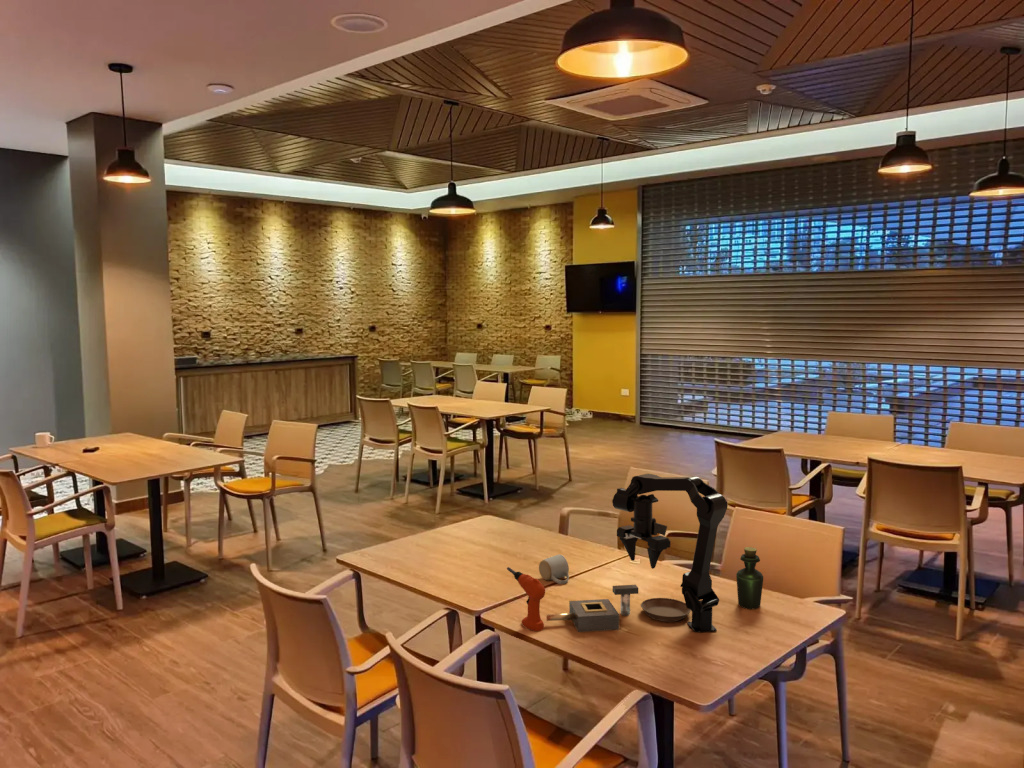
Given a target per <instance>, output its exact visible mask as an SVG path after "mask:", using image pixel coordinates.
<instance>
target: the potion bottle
mask: <svg viewBox="0 0 1024 768" xmlns="http://www.w3.org/2000/svg"><path fill="white" fill-rule="evenodd" d="M743 550H744V553H743V554H741V556H740V558H739V559H740V561H742V562H743V565H744V567H743V568H741V569H739V570H738V571H737V572H736V574H735V575H736V576H735V577H736V590H737V602H738V606H739V605H740V607H741V608H742V609H746V608H747V609H746V610H757V609H756V608H758V609H759V608H760V607H761V603H762V593H763V586H764V575H763V573H762V572H761V571H759V570H758V569H756V566H757V564H758V563H760V561H761V559H760V556H759V555H756V554H757V551H758V549H757V548H755V547H751V546H746V547H744V548H743Z"/></svg>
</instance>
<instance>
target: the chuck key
mask: <svg viewBox="0 0 1024 768" xmlns="http://www.w3.org/2000/svg"><path fill="white" fill-rule="evenodd" d="M612 593H613V594H614V595H615V596H618V595H619V596H620V615H622V616H625V617H626V616H630V615H631V595H637V594H638V595H639V587H638V586H637V584H623V585H612Z"/></svg>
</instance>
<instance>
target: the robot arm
mask: <svg viewBox="0 0 1024 768" xmlns="http://www.w3.org/2000/svg"><path fill="white" fill-rule="evenodd" d="M656 491H657V492H658V491H660V492H663V491H665V492H666V491H668V492H669V491H671V492H672V491H673V492H675V491H677V492H686V494H688V498H689V500H690V502H691V504H692V505H693V506H694V507H695V508H696V517H697V519H698V522H699V526H698V533H697V536H696V537H697V539H696V543H695V548H694V553H693V559H692V565H691V569H690V571H687V572H685V573H683V575H682V577H681V579H682V580H681V584H680V588H681V594H682V595H683V599H684V603H686V607H687V608H688V609H690V610H691V611H690V612H691V621H687V623H686V624H687V625H688V627H690V629H692V630H693V632H695V633H704V632H705V633H706V632H707V633H708V632H717V628H716V627H715V626H714V625H713V607H716V606H719V602H720V598H719V596H718V595H717V593H716V592H715V591H714V589H713V581H712V580H713V579H712V576H711V575H710V567H711V562H712V557H713V554H714V553H713V551H714V546H715V540H716V536H717V529H718V526H719V525H720V524H721V522H722V520H723V519H724V518H725V515H726V512H727V510H728V500H727V499H726V497H724V495H723V494H720V493H719V491H717V489H715V488H714V487H712V486H711V485H709V484H707V483H706V482H704V480H702V478H701V477H699V476H697V475H696V476H679V477H678V476H673V477H672V476H671V477H670V476H669V477H661V476H659V475H657V474H653V473H644V474H639V475H634V476H632V478H631V480H630V483H629V485H628V486H627V488H624V487H619V488H617V489H616V492H615V493H614V495H613V498H612V500H611V503H612V506H613V508H614V509H616V510H620V511H624V512H628V513H632V512H633V517H630V522H633V526H632V525H630V524H629V525H625V526H624V525H623V526H619V527H618V528H617V530H616V536H617V537H618V538H619V540H620V541H621V543H622V544H623V547H624V549H625V550H626V552H627V554H628V557H629V559H630V561H632V562H634V561H635V559H636V546H637V545H636V543H637V542H638V540H641V541H644V542H647V546H648V547H646V549H647V554H648V559H649V564H650V568H651V569H656V566H657V563H658V561H659V558H660V556H661V554H662V552H663V551H664V550H667V549H668V548H671V539H670V538H669V537H666V533H667V530H668V525H665V524H662V523H659V522H657V519H656V518H655V517H653V504H655V503H658V502H659V499H658V497H656V496H655V494H653V493H652V492H656ZM648 493H652V494H648ZM646 494H648V495H646ZM658 534H659V535H658Z"/></svg>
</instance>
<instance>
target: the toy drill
mask: <svg viewBox="0 0 1024 768" xmlns="http://www.w3.org/2000/svg"><path fill="white" fill-rule="evenodd" d="M506 569H507V571H508V572H509V573H511V574H512V575H513V577H514V579H515V580H516V581H517V582H518V585H519V586H520V587H521V589H523V591H524V592H525V593H526V595H527V596H528V598H527V600H526V604H527V616H526V617H523V618H522V620H521V625H522V624H523V625H524V626H525V627H524V626H523V625H522V626H523V627H524V628H526V629H528V630H531V631H533V630H534V632H538V631H540V632H541V631H542V630H544V629H545V623H544V621H543V619H542V618H541V614H540V613H541V611H540V605H541V604H540V603H541V600H542V599H543V598H544V597H545V595H546V588H545V586H544V584H543V583H542V582H541V581H540V580H539V579H538V578H536V577H535V578H534V577H533V576H532V575H529V574H526V573H523V572H520V571H516V570H514V569H512V568H511V567H509V566H507V568H506Z"/></svg>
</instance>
